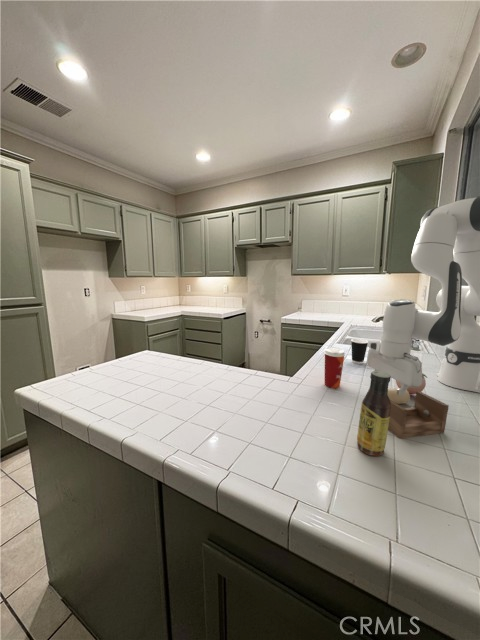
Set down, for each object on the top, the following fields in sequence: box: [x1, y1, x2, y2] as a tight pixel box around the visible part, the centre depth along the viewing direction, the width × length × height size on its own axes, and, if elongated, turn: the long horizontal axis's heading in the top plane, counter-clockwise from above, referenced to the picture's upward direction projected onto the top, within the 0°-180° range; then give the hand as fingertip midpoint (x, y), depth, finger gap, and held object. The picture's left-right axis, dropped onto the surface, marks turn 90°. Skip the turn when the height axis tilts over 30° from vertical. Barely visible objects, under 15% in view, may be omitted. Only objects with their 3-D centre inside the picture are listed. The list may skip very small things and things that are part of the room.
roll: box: [387, 387, 411, 405], centre depth 89 cm, size 9×5×5 cm, turn 102°
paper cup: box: [323, 347, 346, 389], centre depth 102 cm, size 8×8×14 cm
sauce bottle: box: [356, 370, 392, 457], centre depth 63 cm, size 7×6×20 cm
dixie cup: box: [350, 338, 369, 365], centre depth 130 cm, size 8×8×11 cm
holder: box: [388, 391, 449, 440], centre depth 75 cm, size 14×9×8 cm, turn 102°
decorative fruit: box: [395, 372, 428, 395], centre depth 95 cm, size 9×8×10 cm
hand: (389, 388), depth 89 cm, fingers open, 8 cm apart
